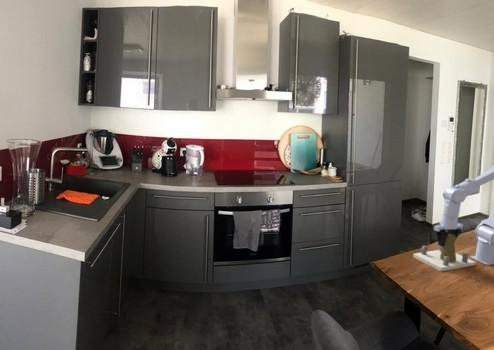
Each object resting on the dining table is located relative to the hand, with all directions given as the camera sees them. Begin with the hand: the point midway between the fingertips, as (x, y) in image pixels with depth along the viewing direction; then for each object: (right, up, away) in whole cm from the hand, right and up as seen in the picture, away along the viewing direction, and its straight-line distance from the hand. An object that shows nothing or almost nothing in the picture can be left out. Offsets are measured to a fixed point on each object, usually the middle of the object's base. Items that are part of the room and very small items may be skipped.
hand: (445, 245), depth 143 cm
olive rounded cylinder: (0, -6, -1) cm, 6 cm away
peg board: (0, -7, +1) cm, 7 cm away
